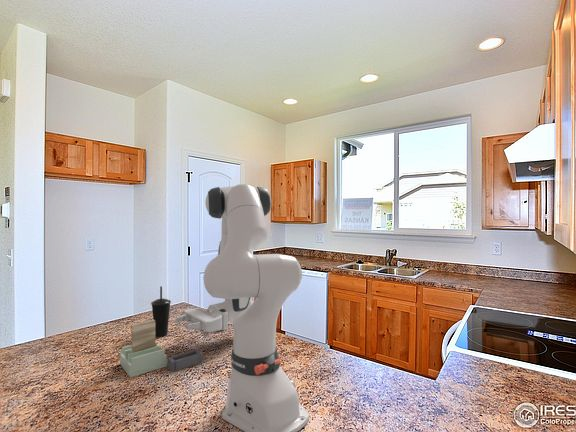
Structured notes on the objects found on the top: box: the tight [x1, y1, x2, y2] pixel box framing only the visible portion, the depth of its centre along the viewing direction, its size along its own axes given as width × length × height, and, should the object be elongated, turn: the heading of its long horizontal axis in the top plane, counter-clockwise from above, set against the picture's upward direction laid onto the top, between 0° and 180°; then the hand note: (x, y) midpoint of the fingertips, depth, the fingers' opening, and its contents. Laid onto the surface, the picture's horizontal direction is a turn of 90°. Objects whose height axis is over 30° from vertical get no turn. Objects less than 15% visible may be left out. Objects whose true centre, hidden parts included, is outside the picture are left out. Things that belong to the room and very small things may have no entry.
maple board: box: [130, 319, 156, 353], centre depth 104 cm, size 2×7×13 cm, turn 132°
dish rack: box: [119, 341, 168, 378], centre depth 103 cm, size 12×11×6 cm
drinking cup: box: [150, 285, 172, 338], centre depth 130 cm, size 8×8×20 cm
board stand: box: [167, 348, 203, 373], centre depth 104 cm, size 4×10×3 cm, turn 132°
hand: (181, 323), depth 112 cm, fingers open, 8 cm apart
